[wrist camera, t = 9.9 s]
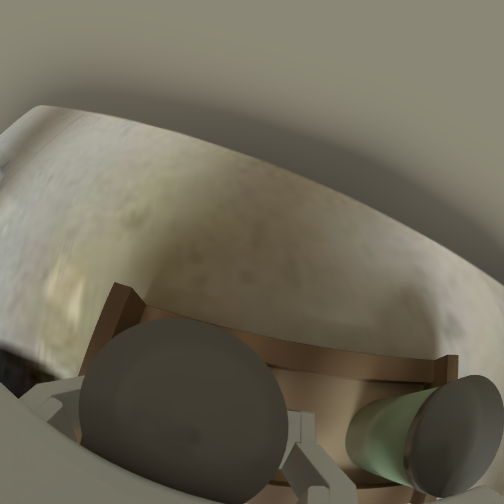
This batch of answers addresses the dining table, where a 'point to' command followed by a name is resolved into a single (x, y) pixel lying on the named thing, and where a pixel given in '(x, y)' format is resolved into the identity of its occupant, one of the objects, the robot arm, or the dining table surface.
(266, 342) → the wooden tray
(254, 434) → the terracotta jar
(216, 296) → the dining table surface
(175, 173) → the dining table surface
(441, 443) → the olive jar
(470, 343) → the dining table surface
